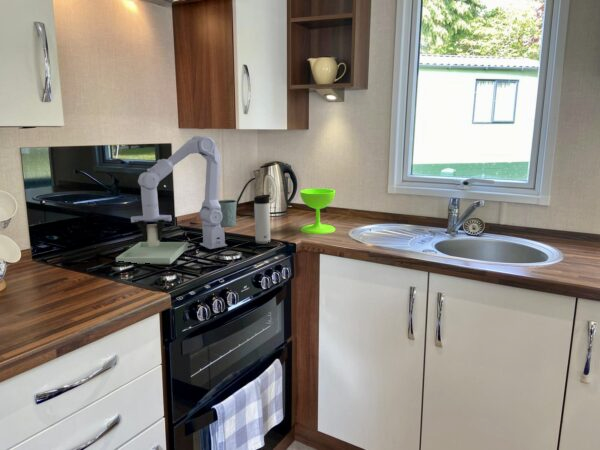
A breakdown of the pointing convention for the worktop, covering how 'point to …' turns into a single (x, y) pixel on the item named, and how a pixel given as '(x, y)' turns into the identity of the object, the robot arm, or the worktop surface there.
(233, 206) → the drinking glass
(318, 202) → the wineglass
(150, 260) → the tray
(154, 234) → the spice pot
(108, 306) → the worktop surface
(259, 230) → the travel mug
